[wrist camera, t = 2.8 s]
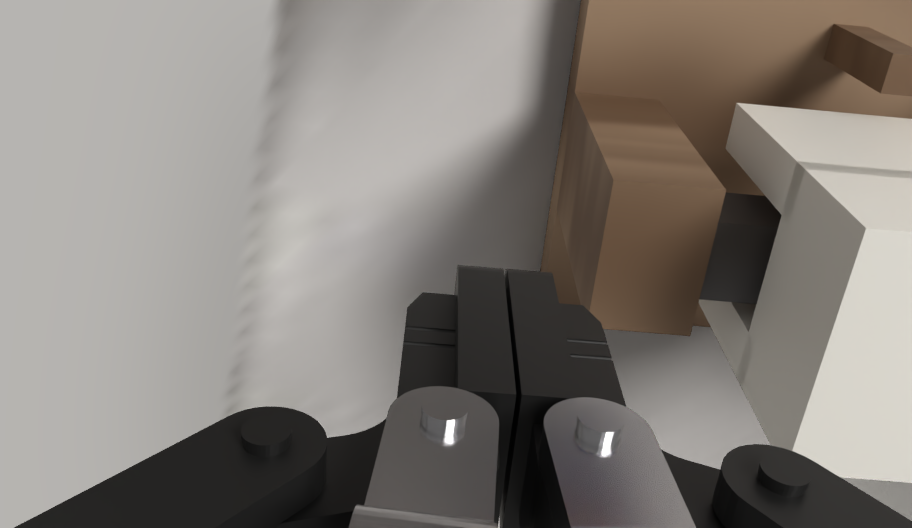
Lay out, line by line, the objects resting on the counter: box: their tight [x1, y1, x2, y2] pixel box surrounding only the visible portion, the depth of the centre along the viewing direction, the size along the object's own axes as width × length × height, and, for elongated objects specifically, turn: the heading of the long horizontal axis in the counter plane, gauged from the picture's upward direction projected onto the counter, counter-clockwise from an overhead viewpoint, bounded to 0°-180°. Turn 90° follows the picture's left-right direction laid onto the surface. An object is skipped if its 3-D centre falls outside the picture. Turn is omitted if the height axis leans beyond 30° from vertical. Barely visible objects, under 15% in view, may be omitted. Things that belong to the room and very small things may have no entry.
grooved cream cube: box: [698, 103, 912, 483], centre depth 16 cm, size 4×4×6 cm
